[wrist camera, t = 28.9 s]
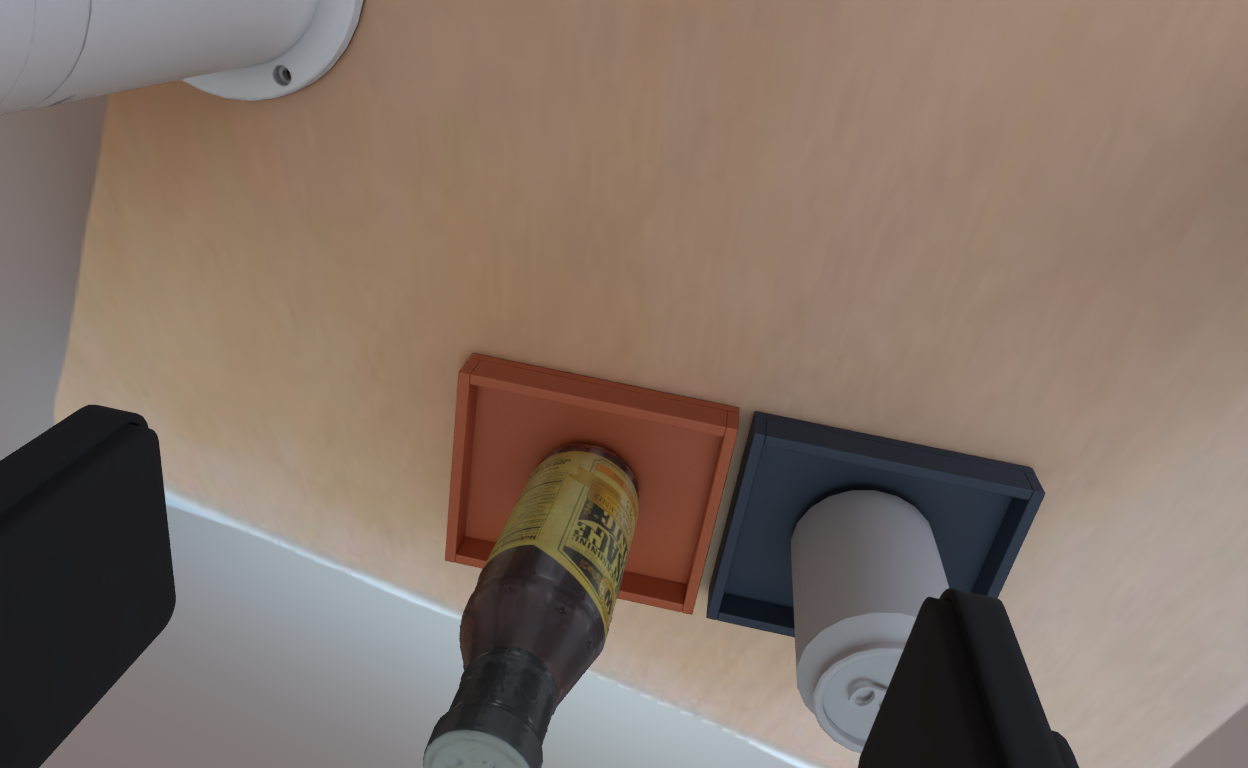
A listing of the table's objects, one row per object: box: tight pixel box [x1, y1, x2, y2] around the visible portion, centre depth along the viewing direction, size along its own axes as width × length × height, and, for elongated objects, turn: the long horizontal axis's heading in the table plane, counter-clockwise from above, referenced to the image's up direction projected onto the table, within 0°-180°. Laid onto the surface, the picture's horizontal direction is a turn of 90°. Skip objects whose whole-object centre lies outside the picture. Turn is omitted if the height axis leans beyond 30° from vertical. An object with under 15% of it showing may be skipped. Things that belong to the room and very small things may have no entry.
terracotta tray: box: [445, 353, 739, 615], centre depth 47 cm, size 14×12×2 cm
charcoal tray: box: [706, 411, 1045, 637], centre depth 46 cm, size 14×12×2 cm
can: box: [791, 490, 949, 753], centre depth 41 cm, size 8×8×12 cm
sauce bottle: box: [423, 443, 639, 768], centre depth 39 cm, size 6×6×20 cm
